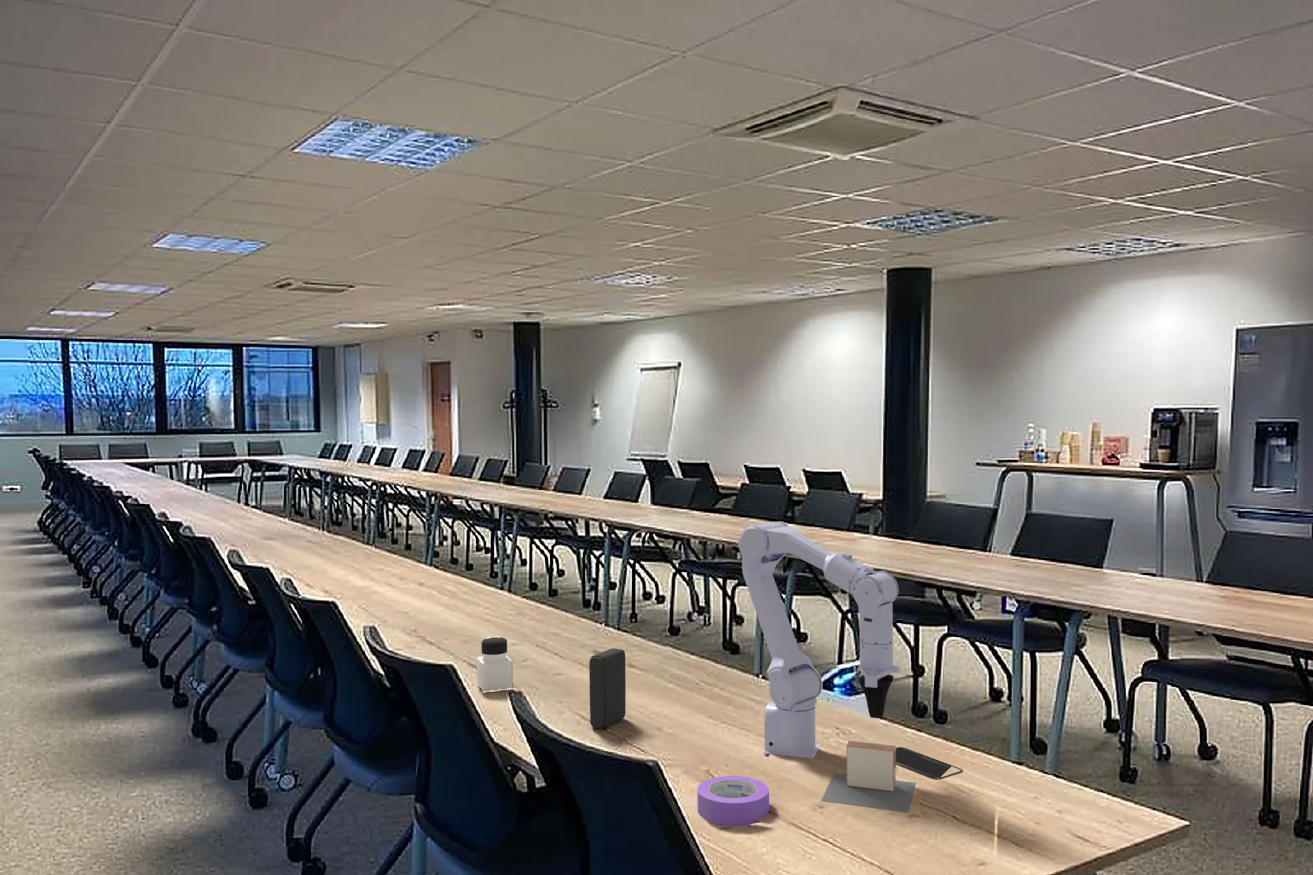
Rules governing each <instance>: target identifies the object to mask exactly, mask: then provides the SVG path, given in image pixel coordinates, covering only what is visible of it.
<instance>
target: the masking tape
mask: <svg viewBox="0 0 1313 875" xmlns="http://www.w3.org/2000/svg"><path fill="white" fill-rule="evenodd" d="M696 789H697V791H696V793H697V797H696V798H697V813H698V815H699V816H700V817H701V818H702V819H703V820H706V821H708V822H711V823H713V824H716V825H722V826H733V827H734V826H735V827H738V826H739V827H740V826H747V825H748V826H749V825H754V824H757V823H760V822H761V821H760V820H758V819H760V818H762V817H765V816H766V815H767V814H768V813H769V811H770V789H769V786H768V785H767V784H766V783H764V782H763V781H761V780H759V779H757V778H752V777H749V776H748V777H747V776H744V775H743V776H741V775H724V776H723V775H722V776H716V777H712V778H710V779H705V780H704V781H702V782H701V783H700V784H699V785H698V786H697V788H696Z"/></svg>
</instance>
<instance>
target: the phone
mask: <svg viewBox="0 0 1313 875" xmlns="http://www.w3.org/2000/svg"><path fill="white" fill-rule="evenodd" d="M896 766H898V767H902V768H904V769H906V770H908V771H911V772H912V773H913V772H914V773H917V774H919V775H921V776H924V777H927V778H928V779H932V780H942V779H946V778H948V777H952V776H955V775H959V774H961V773H963V769H962V768H961V767H957V766H954V765H952V764H950V763H947V762H945V761H941V760H939V759H936V758H934V757H931V756H928V755H925V754H923V753H920V752H917V751H914V750H912V749H909V748H907V747H904V746H899V747H897V746H896ZM951 768H954V769H958V770H959V771H956V772H953V773H949V774H948V775H945V774H946V773H947V771H949V770H950V769H951Z"/></svg>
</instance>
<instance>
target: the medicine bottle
mask: <svg viewBox="0 0 1313 875" xmlns="http://www.w3.org/2000/svg"><path fill="white" fill-rule="evenodd" d="M476 670H477V671H476V674H477V676H476V677H477V678H476V680H477V681H476V682H477V683H478V685H479V686H480V687H481V689H482V691H490V690H498V689H507V688H510V687H511V688H512V690H513V688H514V687H513V660H512V659H511V658H510V657H509V656H508V640H507V639H506V638H505V637H502V636H489V637H486V638H484V639H482V641H481V656H478V657H476ZM478 685H477V686H478ZM508 690H509V689H508ZM482 691H481V692H482ZM509 691H510V690H509Z"/></svg>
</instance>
